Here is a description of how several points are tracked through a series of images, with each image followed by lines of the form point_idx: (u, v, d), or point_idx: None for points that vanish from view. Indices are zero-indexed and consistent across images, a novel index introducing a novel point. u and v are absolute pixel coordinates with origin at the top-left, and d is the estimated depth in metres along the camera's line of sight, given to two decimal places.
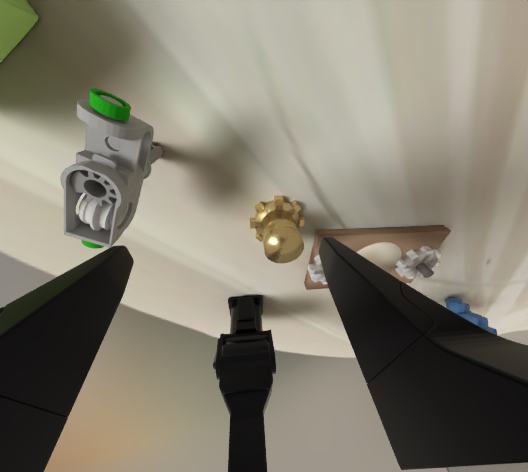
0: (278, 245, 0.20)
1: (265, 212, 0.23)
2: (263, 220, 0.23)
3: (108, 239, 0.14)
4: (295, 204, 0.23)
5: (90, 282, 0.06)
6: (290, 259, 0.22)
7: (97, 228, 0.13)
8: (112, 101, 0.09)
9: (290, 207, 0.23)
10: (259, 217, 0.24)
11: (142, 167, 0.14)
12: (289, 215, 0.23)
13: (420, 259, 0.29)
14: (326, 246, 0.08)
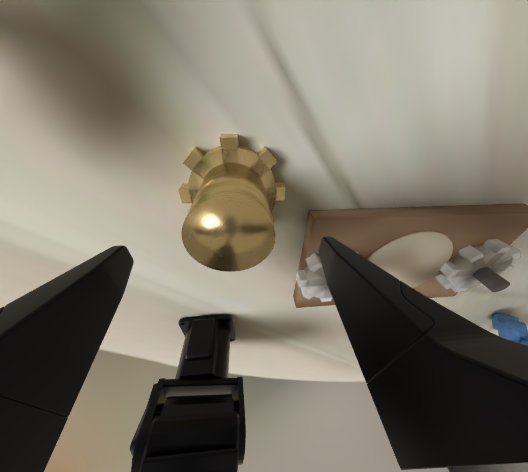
0: (213, 231, 0.09)
1: (204, 168, 0.12)
2: None
3: None
4: (264, 152, 0.12)
5: (90, 282, 0.06)
6: (249, 263, 0.10)
7: None
8: None
9: (254, 158, 0.12)
10: (194, 180, 0.12)
11: None
12: (251, 173, 0.11)
13: (483, 262, 0.18)
14: (326, 246, 0.08)
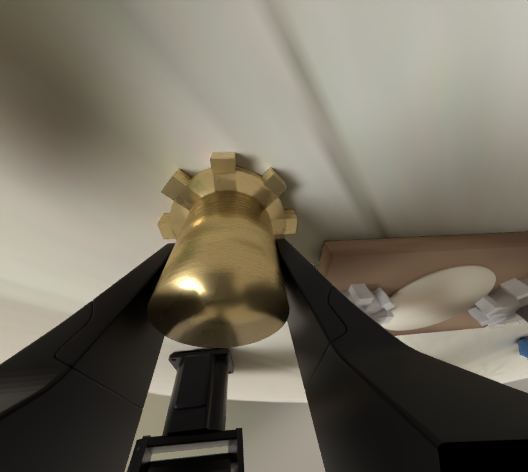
0: (196, 309, 0.06)
1: (190, 198, 0.09)
2: (186, 219, 0.09)
3: None
4: (270, 176, 0.09)
5: (158, 278, 0.07)
6: (250, 339, 0.07)
7: None
8: None
9: (257, 184, 0.09)
10: (178, 211, 0.09)
11: None
12: (253, 205, 0.08)
13: None
14: None
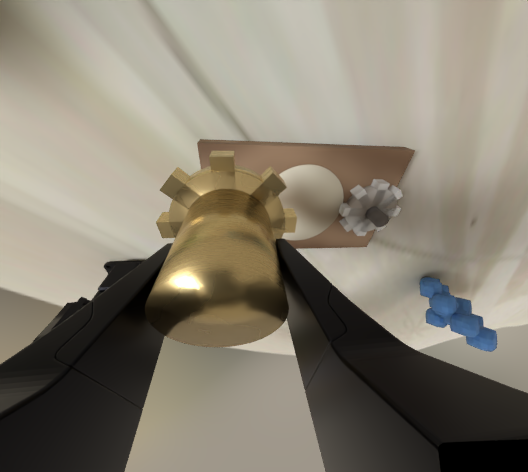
0: (194, 308, 0.06)
1: (189, 196, 0.09)
2: None
3: None
4: (270, 174, 0.09)
5: None
6: (249, 338, 0.07)
7: None
8: None
9: (256, 182, 0.09)
10: (177, 210, 0.09)
11: None
12: (252, 204, 0.08)
13: (371, 200, 0.19)
14: (277, 248, 0.08)
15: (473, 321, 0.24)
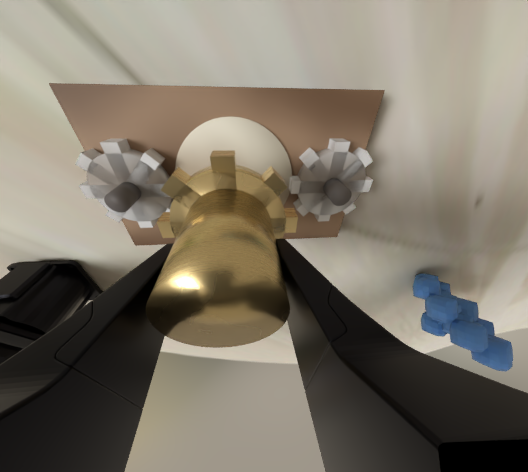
0: (195, 308, 0.06)
1: (190, 196, 0.09)
2: None
3: None
4: (271, 174, 0.09)
5: None
6: (250, 338, 0.07)
7: None
8: None
9: (257, 182, 0.09)
10: (177, 210, 0.09)
11: None
12: (253, 204, 0.08)
13: (327, 169, 0.14)
14: (277, 248, 0.08)
15: (480, 331, 0.18)
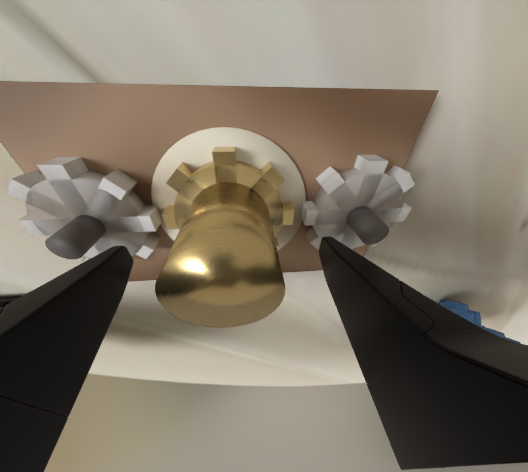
0: (199, 286, 0.06)
1: (193, 189, 0.09)
2: None
3: None
4: (269, 168, 0.09)
5: (90, 282, 0.06)
6: (249, 319, 0.08)
7: None
8: None
9: (256, 176, 0.09)
10: (181, 202, 0.10)
11: None
12: (252, 196, 0.09)
13: (354, 195, 0.10)
14: (326, 246, 0.08)
15: None
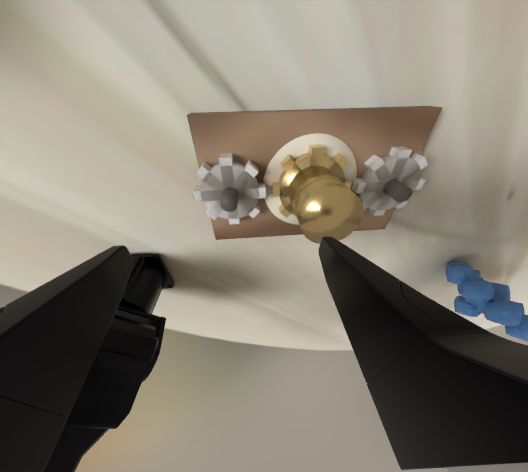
0: (323, 213, 0.13)
1: (295, 170, 0.16)
2: (292, 182, 0.16)
3: None
4: (340, 156, 0.16)
5: (90, 282, 0.06)
6: (338, 237, 0.14)
7: None
8: None
9: (333, 161, 0.16)
10: (286, 179, 0.16)
11: None
12: (332, 172, 0.15)
13: (389, 172, 0.17)
14: (326, 246, 0.08)
15: (515, 308, 0.20)
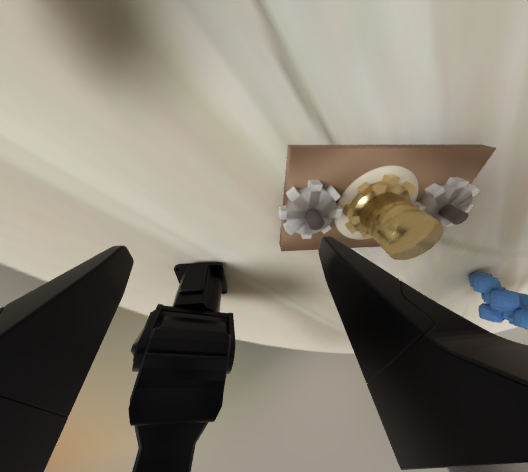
0: (410, 235, 0.15)
1: (371, 195, 0.18)
2: (368, 206, 0.19)
3: None
4: (410, 185, 0.18)
5: (90, 282, 0.06)
6: (414, 254, 0.17)
7: None
8: None
9: (404, 189, 0.18)
10: (362, 202, 0.19)
11: None
12: None
13: (446, 198, 0.20)
14: (326, 246, 0.08)
15: None
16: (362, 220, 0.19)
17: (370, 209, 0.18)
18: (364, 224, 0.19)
